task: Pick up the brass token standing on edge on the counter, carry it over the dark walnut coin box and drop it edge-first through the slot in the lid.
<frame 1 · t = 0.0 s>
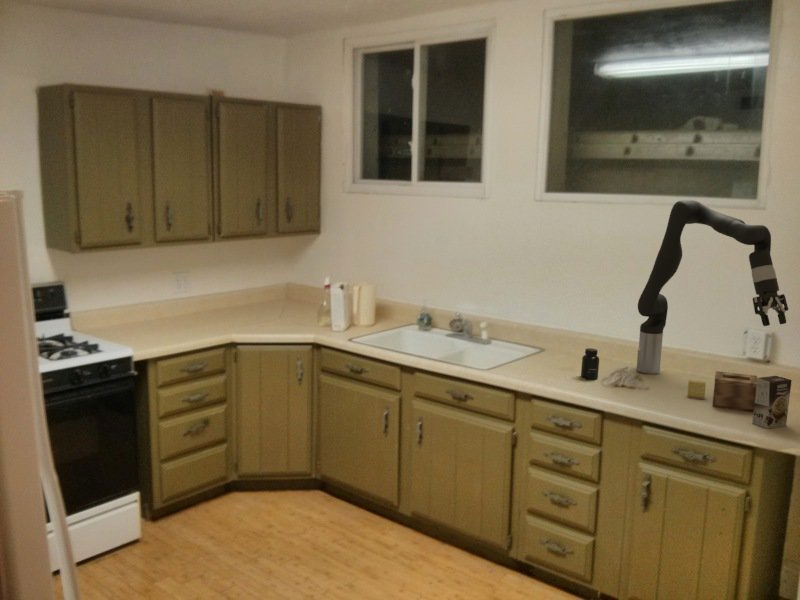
hand: (774, 324, 256), 31 cm above the worktop, tool tilted 20°, fingers open, 8 cm apart
supplement bottle: (589, 378, 300), on the worktop
brass token: (695, 397, 277), on the worktop
coin box: (733, 404, 268), on the worktop
coffee box: (769, 425, 248), on the worktop
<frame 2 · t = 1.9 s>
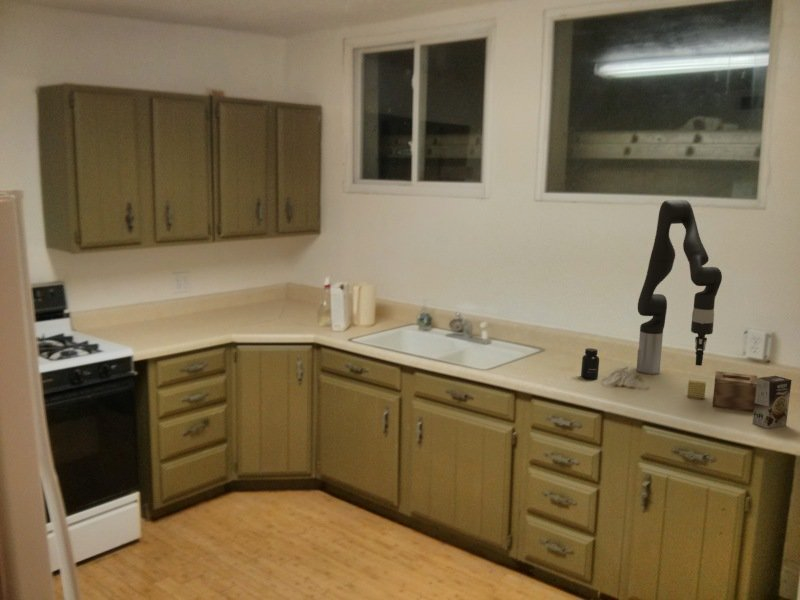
hand: (699, 362, 275), 13 cm above the worktop, tool pointing down, fingers open, 8 cm apart
nothing on the worktop moved.
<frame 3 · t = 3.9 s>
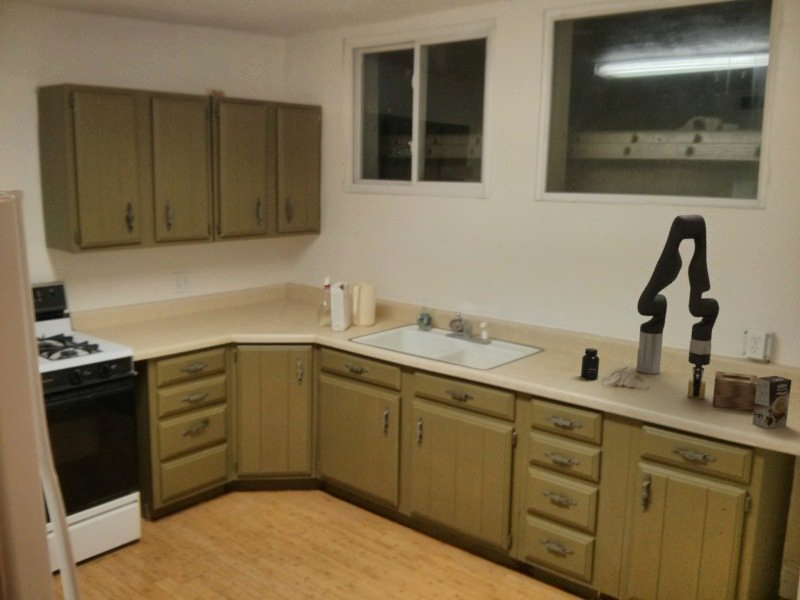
hand: (696, 395, 277), 1 cm above the worktop, tool pointing down, fingers closed on brass token, 2 cm apart
brass token: (695, 396, 277), on the worktop, touching gripper
everything else where it was.
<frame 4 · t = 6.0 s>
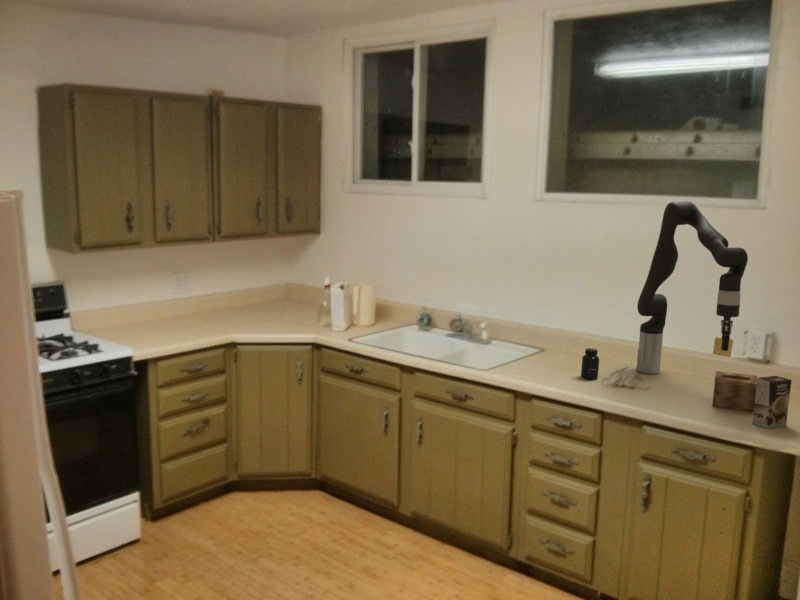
hand: (724, 349, 267), 20 cm above the worktop, tool pointing down, fingers closed on brass token
brass token: (721, 354, 268), point 18 cm above the worktop, touching gripper
everything else where it was.
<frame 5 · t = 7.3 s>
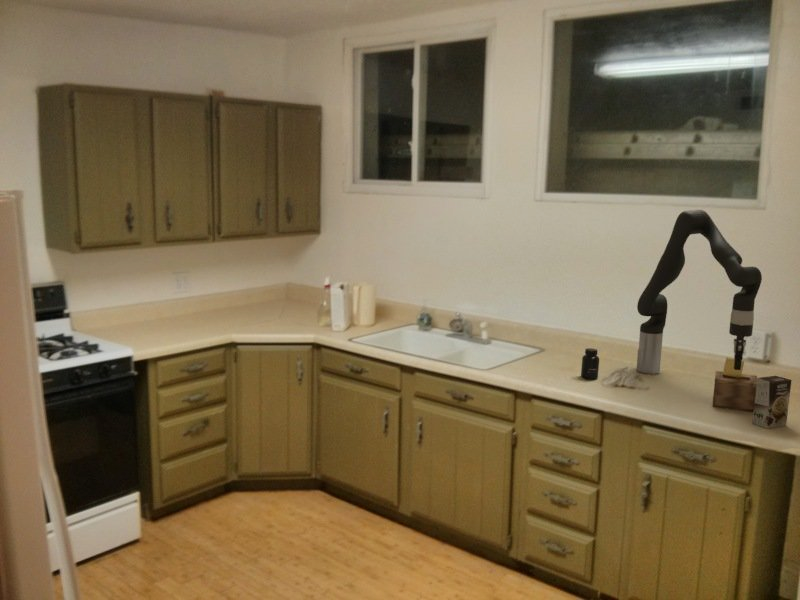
hand: (737, 368, 266), 14 cm above the worktop, tool pointing down, fingers closed on brass token
brass token: (731, 375, 267), point 11 cm above the worktop, tilted 7°, touching gripper
everything else where it was.
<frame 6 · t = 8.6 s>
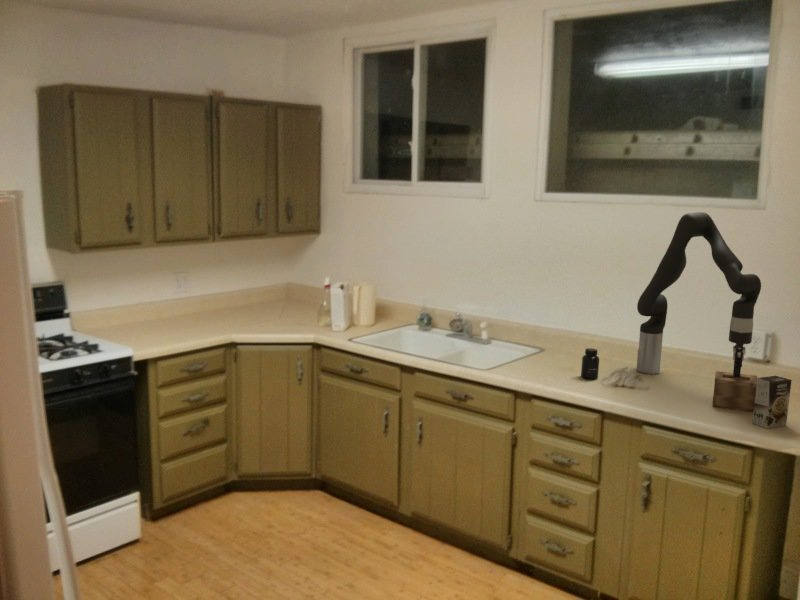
hand: (736, 375, 266), 11 cm above the worktop, tool pointing down, fingers open, 4 cm apart
brass token: (731, 397, 268), point 2 cm above the worktop, tilted 15°
everything else where it was.
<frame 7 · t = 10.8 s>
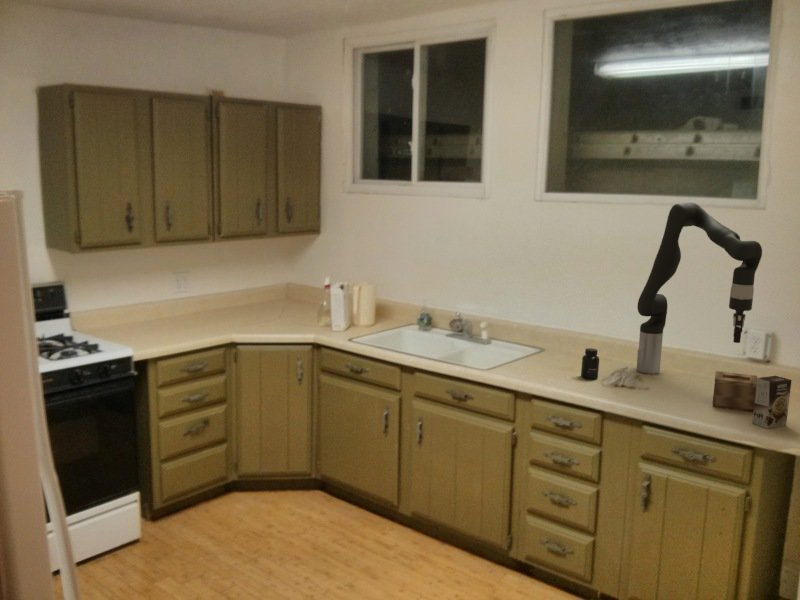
hand: (736, 340, 266), 24 cm above the worktop, tool pointing down, fingers open, 8 cm apart
brass token: (730, 401, 269), point 1 cm above the worktop, touching coin box
everything else where it was.
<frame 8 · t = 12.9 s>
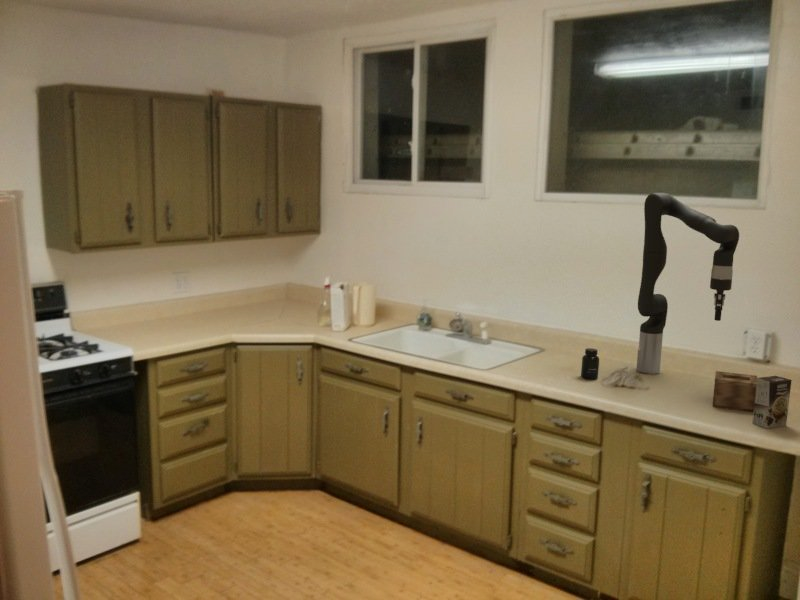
hand: (717, 318, 284), 28 cm above the worktop, tool pointing down, fingers open, 8 cm apart
nothing on the worktop moved.
at the end: brass token inside the target area on the coin box (1.2 cm from its centre), point 0.8 cm above the coin box's base; the gripper is holding nothing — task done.
